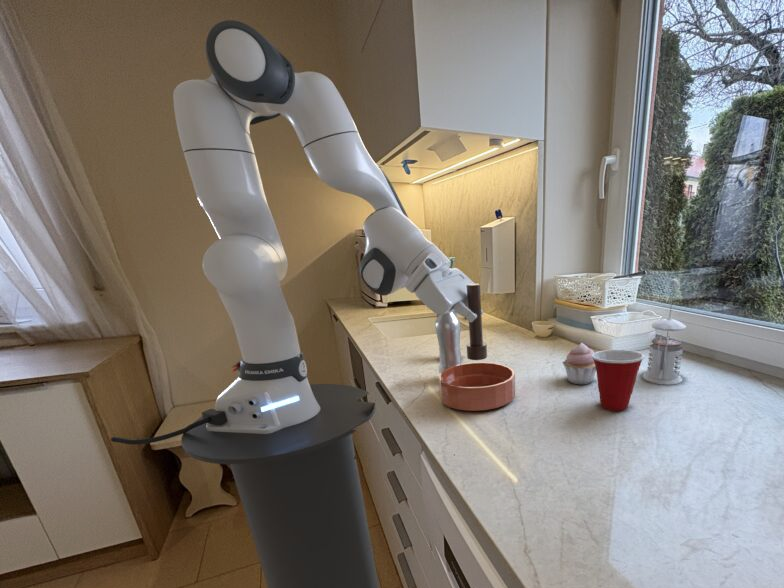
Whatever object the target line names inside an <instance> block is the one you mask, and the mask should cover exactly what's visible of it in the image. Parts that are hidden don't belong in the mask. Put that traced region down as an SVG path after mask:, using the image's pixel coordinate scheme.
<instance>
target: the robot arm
mask: <svg viewBox="0 0 784 588" xmlns="http://www.w3.org/2000/svg"><path fill="white" fill-rule="evenodd" d="M205 55H206V60H207V65H208V67H209V69H210V71H211V73H212V74H211V75H210V76H209V77H207V78H205V79H188V80H185V81H183V82H180V83H179V84H177V86H176V87H175V88H174V90H173V93H172V98H173V111H174V118H175V124H176V129H177V132H178V133H177V134H178V138H179V142H180V145H181V149H182V152H183V156H184V159H185V162H186V163H185V164H186V166H187V169H188V172H189V176H190V179H191V183H192V186H193V189H194V192H195V195H196V199H197V202H198V203H199V205H200V206H201V207H202V209H203V210H204V212H205V214H206V215H207V217H208V219H209V221H210V222H211V224H212V226H213V229H214V231H215V233H216V235H217V237H218V239H217V240H215V241H214V242H213V243H212V244H210V245H209V247H208V248H207V249H206V251H205V253H204V254H203V257H202V270H203V273H204V276H205V277H206V279H207V281H209V283H210V284H211V285H212V286H213V287H214V288H215V290H216V292H217V294H218V296H219V298H220V300H221V302H222V305H223V306H224V309H225V310H226V313H227V314H228V317H229V319H230V321H231V323H232V326H233V328H234V332H235V333H234V334H235V336H236V339H237V343H238V348H239V350H240V355H241V358H242V359H240V360H238V361H237V362H236V364H234V365H232V366H231V369H232V372H233V373H234V372H236V371H238V376H237V378H235V379H234V380H233V382H231V383H230V384H229V385H228V386H226V388H225V389H224V390H223V391H221V392H220V394H218V396H217V398H216V400H215V404H214V406H215V408H209V409H206V410H204V411H201V417H202V416H203V419H202V420H199V421H197V422H195V421H194V422H195V423H193V422H192V423H190V424H188V425H186V426H185V427H183V428H181V429H178V430H175V431H172V432H169V433H165V434H162V435H159V436H153V437H148V438H142V439H140V438H139V439H131V438H124V437H119V436H112V437H110V441H111V442H113V443H120V444H124V445H134V446H137V445H146V444H152V443H157V442H162V441H166V440H168V439H171V438H175V437H177V436H181V435H183V433H186V432H188V431H190V430H191V429H193V428H195V427H197V426H200V425H202V424H205V423H207V425H206V427H207V431H216V432H235V433H254V434H270V433H273V432H275V431H278V430H280V429H282V428H285V427H289V426H292V425H296V424H299V423H302V422H304V421H307V420H309V419H311V418H312V417H314V416H315V415H317V414H318V413H319V411H320V406H319V404H318V403H317V401H316V399H315V397H314V395H313V392H312V390H311V387H310V385H311V384H310V381H309V379H308V367H307V363H306V360H305V355H304V352H303V351H302V350H301V347H300V343H299V337H298V333H297V328H296V323H295V320H294V316H293V314H292V313H291V311H290V309H289V306H288V304H287V300H286V299H285V295H284V292H283V289H282V286H281V282H282V281H283V280H284V278H285V277H286V275H287V272H288V267H289V262H288V261H289V260H288V257H287V254H286V252H285V249H284V246H283V243H282V240H281V237H280V233H279V231H278V228H277V225H276V222H275V220H274V217H273V214H272V211H271V209H270V207H269V204H268V199H267V196H266V193H265V189H264V185H263V181H262V177H261V172H260V169H259V165H258V161H257V157H256V153H255V150H254V145H253V142H252V137H251V130H250V129H251V128H250V126H251V125H252V126H253V125H256V124H259V123H262V122H266V121H269V120H273V119H276V118H278V117H280V116H283V117H284V118H285V119H286V120H287V121H288V122H289V123H290V125H291V127H292V128H293V130H294V131H295V133H296V136H297V138H298V140H299V142H300V145H301V147H302V149H303V151H304V154H305V156H306V159H307V160H308V163H309V165H310V166H311V168H312V170H313V172H314V173H315V175H316V176H317V178H319V180H320V181H321V182H323V183H324V184H325V185H326V186H328V187H330V188H331V189H334V190H336V191H339V192H342V193H346V194H350V195H353V196H356V197H359V198H361V199H363V200H365V201H366V202H367V203H369V204H370V205H371V207H372V208H373V209H374V211H373V212H372V213H371V214H369V215H368V217H366V219H365V220H364V222H363V225H362V229H363V234H364V236H365V248H364V254H363V257H362V259H361V261H360V263H359V275H360V277H361V278H360V279H361V280H362V282H363V283H364V285H365V286H366V287H367V288H368V289H369V290H370V291H371V292H373V293H375V294H377V295H379V296H388V295H391V294H394V293H395V292H397V291H399V290H401V289H404V288H405V289H406V290H407V291H408V292H409V293H411V294H413V293H414V295H415V296H416V298H418V300H420V302H421V303H423V304H424V305H425V306H426V307H427V308H428V309H429V310H430V311H432V312H433V313H434V314H436V315H437V314H438V315H440V316H442V315H444V314H446V313H448V312H449V311H451V310H454V311H455V312H456V314H457V315H460V316H461V317H463V318H465V319H466V320H467V321H468V323H469V322H473V321H474V320H475V319H476V318H477V317H478V316H477V314H475V312H474V311H473V310H472V311H471V310H470V309H468V300H467V284H476V282H474V281H473V280H472V279H471V278H470V277H469V276H467V275H466V274H465V273H464V272H463V271H461V269H459V268H457V267H453V268H452V267H451V265H452V261H451V259H449V258H448V257H447V256H446V254H445V253H443V252H442V251H441V249H439V248H438V247H437V245H436V244H435V243H433V242H432V241H430V240H428V239H427V238H426V237H425V236H424V233H423V232H422V230H421V229H420V228H419V227H418V226H417V225H416V224H415V223H414V222H413V221H412V220H411V219H410V218H409V216H408V214H407V212H406V210H405V208H404V206H403V203H402V202H401V199H400V198H399V196H398V194H397V192H396V190H395V188H394V186H393V184H392V182H391V180H390V179H389V178H388V175H387V174H386V173H385V172H384V170H383V169H382V168H380V166H379V165H378V164H377V163H376V161H374V159H373V158H372V156H371V154H370V153H369V151H368V150H367V148H366V146H365V144H364V141H363V140H362V138H361V135H360V133H359V130H358V128H357V125H356V123H355V121H354V119H353V117H352V114H351V112H350V110H349V108H348V107H347V104H346V103H345V101H344V99H343V97H342V95H341V93H340V92H339V90H338V89H337V87H336V86H335V84H334V83H333V81H332V80H331V79H330V78H329V77H328V76H326V75H325V74H323V73H320V72H316V71H303V72H295V70H294V66H293V64H292V62H291V61H290V60H289V59H288V58H287V57H285V55H284V54H283V53H282V52H281V51H280V50H279V49H277V48H276V46H274V44H272V42H271V41H270V40H269V39H268V38H266V37H265V36H264V35H263V34H262V33H260V32H259V30H257V29H255V28H254V27H253V26H251V25H249V24H247V23H244V22H241V21H239V20H230V19H227V20H222V21H220V22H217V23H216V24H215V25H214V26H212V27H211V29H210V30H209V31H208V33H207V36H206V40H205ZM483 314H484V310H482V309H481V316H482V315H483ZM215 409H216V410H215Z"/></svg>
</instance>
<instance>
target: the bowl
mask: <svg viewBox="0 0 784 588" xmlns="http://www.w3.org/2000/svg"><path fill="white" fill-rule="evenodd" d="M437 380H438V389H439V399H440V401H441V403H442V404H444V405H445V406H446V407H448V408H452V409H455V410H458V411H468V412H481V411H489V410H494V409H497V408H500V407H503V406H505V405H507V404H509V403H511V402H513V400H514V399H515V397H516V373H515V370H514V369H512V368H511V367H510V366H507V365H504V364H501V363H496V362H488V361H487V362H483V361H479V362H467V363H463V364H460V365H456V366H452V367H449V368H447V369H445V370H443V371H442V372H441V373H440V374H438V379H437Z"/></svg>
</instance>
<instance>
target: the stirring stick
mask: <svg viewBox="0 0 784 588" xmlns="http://www.w3.org/2000/svg"><path fill="white" fill-rule="evenodd" d="M467 300H468V307H467V308H468V309H470V310H471V311H472V310H473V311H474V312H475V314H477V316H478V317H477V318H476V319H475V320H474V321H473V322H469V321H468V330H469V331H468V333H469V342H468V343H466V356H467V357H466V359H468V360H470V361H481V360H485V359H487V358H488V348H487V343H486V342H484V339H483V338H484V337H483V320H482V317H483V316H482V315H481V310H482V297H481V284H480V283H475V284H467Z"/></svg>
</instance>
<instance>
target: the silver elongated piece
mask: <svg viewBox="0 0 784 588" xmlns="http://www.w3.org/2000/svg"><path fill="white" fill-rule="evenodd" d="M453 311H454V310H451V311H449V312H448V313H446V314H444V315H442V316H440V315H439V316H438V318H437V317H436V319H435V322H434V330H435V335H436V337H437V343H438V350H439V362H438V363H439V364H438V373H439V374H440V373H441V372H442V371H443V370H445V369H447V368H449V367H452V366H456V365H460V364H464V363H463V361H462V359H463V358H462V353H461V327H462V324H461V320H460V319H459V317H458V316H456V315H455V314H454V312H453ZM439 374H438V375H439Z"/></svg>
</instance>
